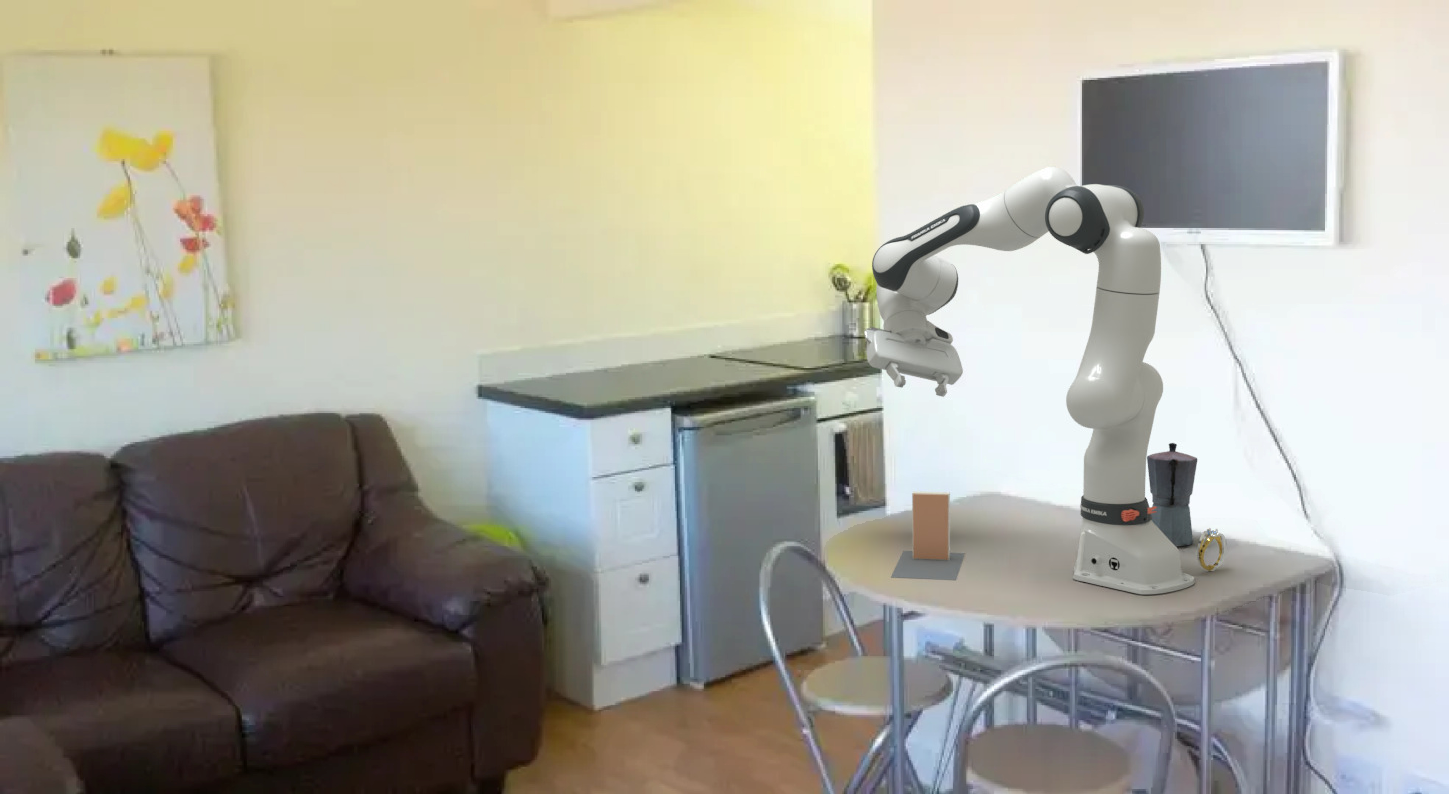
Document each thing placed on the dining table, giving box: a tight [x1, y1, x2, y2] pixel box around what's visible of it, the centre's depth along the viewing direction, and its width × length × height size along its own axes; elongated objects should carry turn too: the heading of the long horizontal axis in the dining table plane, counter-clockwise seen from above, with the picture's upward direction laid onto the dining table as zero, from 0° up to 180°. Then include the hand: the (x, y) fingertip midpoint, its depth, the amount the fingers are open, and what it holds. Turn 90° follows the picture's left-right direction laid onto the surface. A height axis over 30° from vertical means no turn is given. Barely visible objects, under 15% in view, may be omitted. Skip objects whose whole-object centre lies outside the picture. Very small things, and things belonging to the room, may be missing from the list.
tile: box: [911, 490, 951, 560], centre depth 295 cm, size 2×7×13 cm, turn 76°
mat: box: [890, 550, 966, 581], centre depth 291 cm, size 19×12×1 cm, turn 166°
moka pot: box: [1146, 442, 1198, 547], centre depth 302 cm, size 10×15×20 cm, turn 170°
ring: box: [1196, 527, 1227, 572], centre depth 283 cm, size 7×3×8 cm, turn 119°
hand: (921, 389), depth 297 cm, fingers open, 8 cm apart
